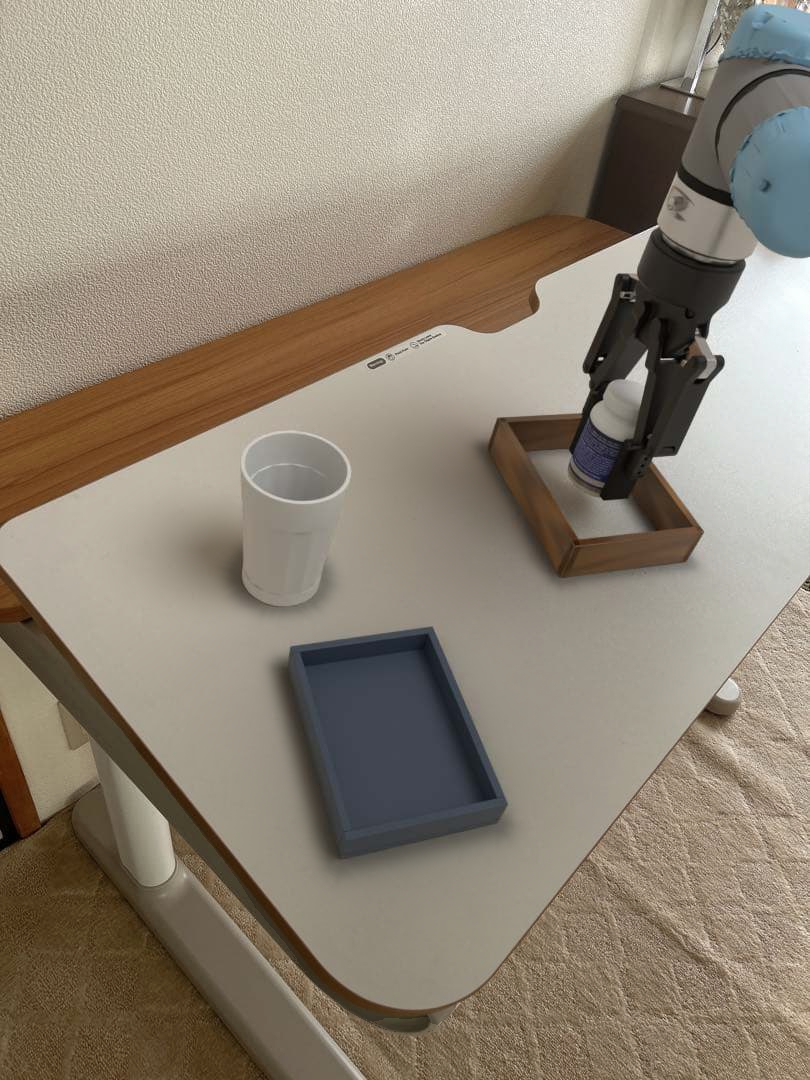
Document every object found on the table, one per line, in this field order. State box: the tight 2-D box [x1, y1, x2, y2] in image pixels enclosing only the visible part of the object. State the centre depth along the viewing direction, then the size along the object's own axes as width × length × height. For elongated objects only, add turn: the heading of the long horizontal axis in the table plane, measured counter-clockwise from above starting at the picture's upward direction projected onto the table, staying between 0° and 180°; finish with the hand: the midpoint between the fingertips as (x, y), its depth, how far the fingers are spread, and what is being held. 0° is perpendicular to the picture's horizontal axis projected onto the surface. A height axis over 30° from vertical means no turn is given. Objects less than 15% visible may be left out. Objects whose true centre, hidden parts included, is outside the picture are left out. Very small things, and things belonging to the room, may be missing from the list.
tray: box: [286, 626, 509, 860], centre depth 62 cm, size 15×11×3 cm
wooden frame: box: [486, 412, 705, 578], centre depth 85 cm, size 18×14×4 cm
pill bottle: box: [566, 379, 645, 499], centre depth 80 cm, size 6×6×10 cm
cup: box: [239, 429, 352, 607], centre depth 68 cm, size 8×8×12 cm
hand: (597, 473), depth 83 cm, fingers closed on pill bottle, 6 cm apart
